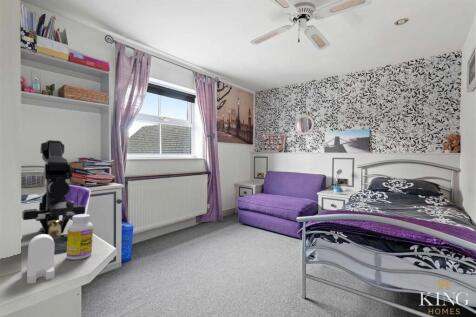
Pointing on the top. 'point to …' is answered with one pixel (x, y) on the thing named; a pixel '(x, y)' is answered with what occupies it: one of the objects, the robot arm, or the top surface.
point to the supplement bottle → (79, 237)
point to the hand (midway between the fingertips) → (54, 234)
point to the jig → (60, 243)
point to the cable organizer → (40, 258)
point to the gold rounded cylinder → (54, 227)
